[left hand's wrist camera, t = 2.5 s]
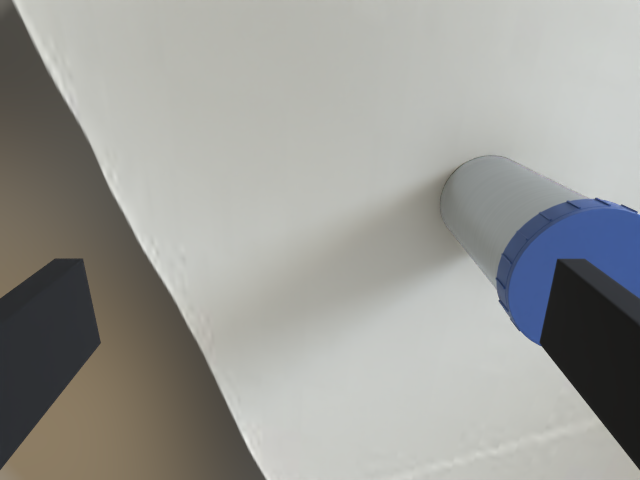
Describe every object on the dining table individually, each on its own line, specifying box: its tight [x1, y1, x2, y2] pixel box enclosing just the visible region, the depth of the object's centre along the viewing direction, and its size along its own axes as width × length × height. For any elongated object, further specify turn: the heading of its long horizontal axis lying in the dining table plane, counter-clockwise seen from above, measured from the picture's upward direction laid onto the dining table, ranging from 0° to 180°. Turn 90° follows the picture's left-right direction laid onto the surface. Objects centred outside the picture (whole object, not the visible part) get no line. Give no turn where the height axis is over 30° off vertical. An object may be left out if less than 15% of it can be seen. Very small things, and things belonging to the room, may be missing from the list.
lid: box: [495, 198, 640, 346], centre depth 26 cm, size 9×9×2 cm
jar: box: [440, 156, 589, 290], centre depth 33 cm, size 8×8×16 cm
